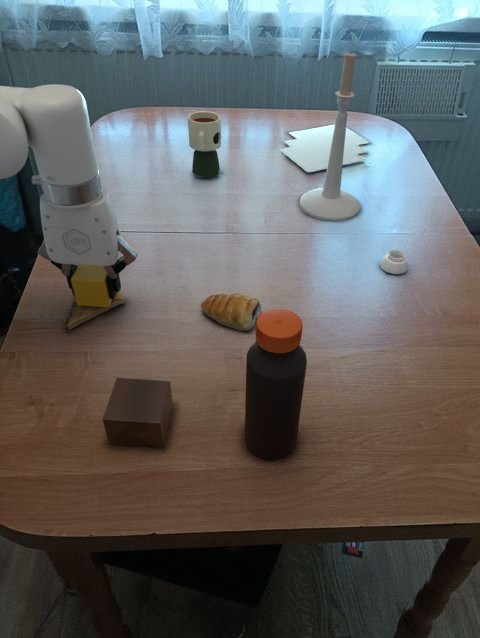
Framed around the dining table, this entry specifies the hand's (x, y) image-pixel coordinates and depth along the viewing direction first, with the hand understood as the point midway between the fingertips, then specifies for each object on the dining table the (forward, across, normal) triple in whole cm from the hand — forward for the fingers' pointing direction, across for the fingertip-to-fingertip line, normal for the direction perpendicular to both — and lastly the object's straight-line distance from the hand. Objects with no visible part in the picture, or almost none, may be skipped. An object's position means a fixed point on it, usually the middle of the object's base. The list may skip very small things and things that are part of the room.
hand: (96, 291), depth 86 cm
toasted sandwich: (+4, 0, 0) cm, 4 cm away
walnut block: (+3, +12, -23) cm, 26 cm away
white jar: (+4, +50, +17) cm, 53 cm away
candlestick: (+4, +39, +39) cm, 55 cm away
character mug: (+4, +11, +50) cm, 51 cm away
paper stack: (+4, +39, +69) cm, 79 cm away
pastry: (+4, +22, 0) cm, 22 cm away
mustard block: (+1, 0, 0) cm, 1 cm away
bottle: (+4, +29, -24) cm, 38 cm away
